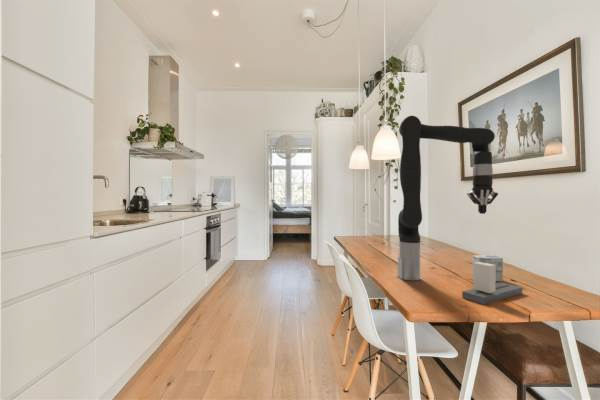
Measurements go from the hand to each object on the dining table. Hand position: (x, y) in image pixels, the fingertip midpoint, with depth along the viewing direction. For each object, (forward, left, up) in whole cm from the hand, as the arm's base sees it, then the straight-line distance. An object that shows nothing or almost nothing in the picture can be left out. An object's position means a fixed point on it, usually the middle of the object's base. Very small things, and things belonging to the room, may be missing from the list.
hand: (482, 213), depth 132 cm
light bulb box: (+6, +6, -31) cm, 32 cm away
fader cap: (-11, -21, -28) cm, 37 cm away
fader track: (-6, -18, -31) cm, 36 cm away
